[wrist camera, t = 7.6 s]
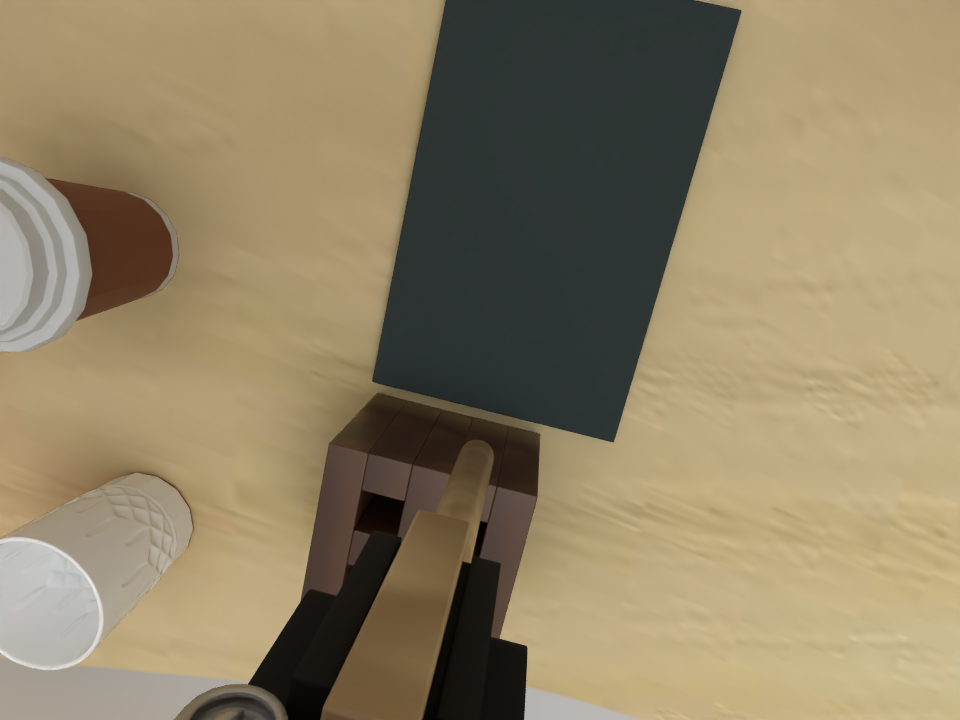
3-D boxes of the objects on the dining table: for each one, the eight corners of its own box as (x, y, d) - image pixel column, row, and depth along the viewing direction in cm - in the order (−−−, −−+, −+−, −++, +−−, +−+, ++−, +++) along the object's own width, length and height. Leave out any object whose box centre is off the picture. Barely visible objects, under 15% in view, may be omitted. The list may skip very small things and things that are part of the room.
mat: (738, 13, 33) (741, 10, 33) (612, 439, 39) (613, 442, 38) (457, -47, 34) (455, -52, 33) (374, 379, 40) (371, 382, 39)
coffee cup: (173, 152, 38) (7, 126, 26) (218, 303, 40) (82, 341, 28) (38, 187, 39) (-176, 177, 28) (88, 332, 41) (-94, 379, 29)
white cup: (222, 508, 43) (127, 595, 33) (169, 591, 45) (65, 696, 35) (122, 441, 43) (-4, 509, 33) (73, 528, 44) (-59, 616, 35)
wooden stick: (514, 375, 26) (438, 738, 6) (486, 489, 27) (343, 1121, 7) (480, 366, 26) (303, 700, 6) (454, 481, 27) (224, 1085, 7)
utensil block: (540, 434, 39) (537, 496, 31) (501, 580, 42) (488, 677, 33) (376, 392, 40) (328, 443, 31) (347, 540, 42) (296, 624, 34)
